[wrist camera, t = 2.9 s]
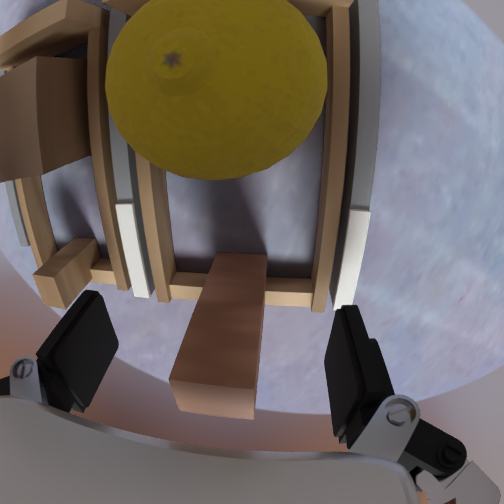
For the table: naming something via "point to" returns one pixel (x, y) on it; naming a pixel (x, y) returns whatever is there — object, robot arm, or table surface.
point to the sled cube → (30, 188)
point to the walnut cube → (43, 116)
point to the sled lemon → (246, 256)
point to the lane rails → (356, 171)
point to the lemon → (216, 84)
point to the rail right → (16, 206)
